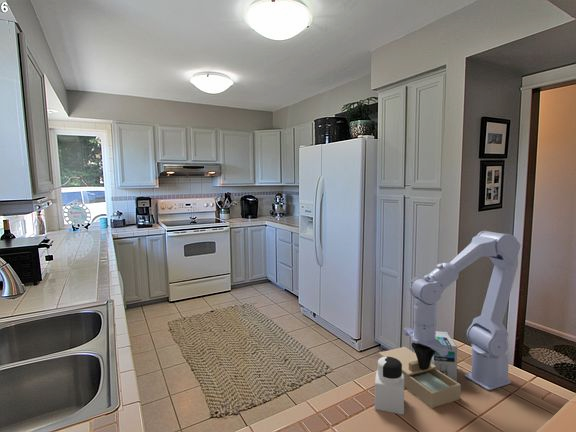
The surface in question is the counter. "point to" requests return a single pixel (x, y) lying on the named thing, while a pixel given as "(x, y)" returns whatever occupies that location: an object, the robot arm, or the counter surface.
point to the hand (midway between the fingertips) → (424, 368)
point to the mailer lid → (406, 360)
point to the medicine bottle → (389, 386)
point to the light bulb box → (446, 356)
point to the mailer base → (433, 395)
